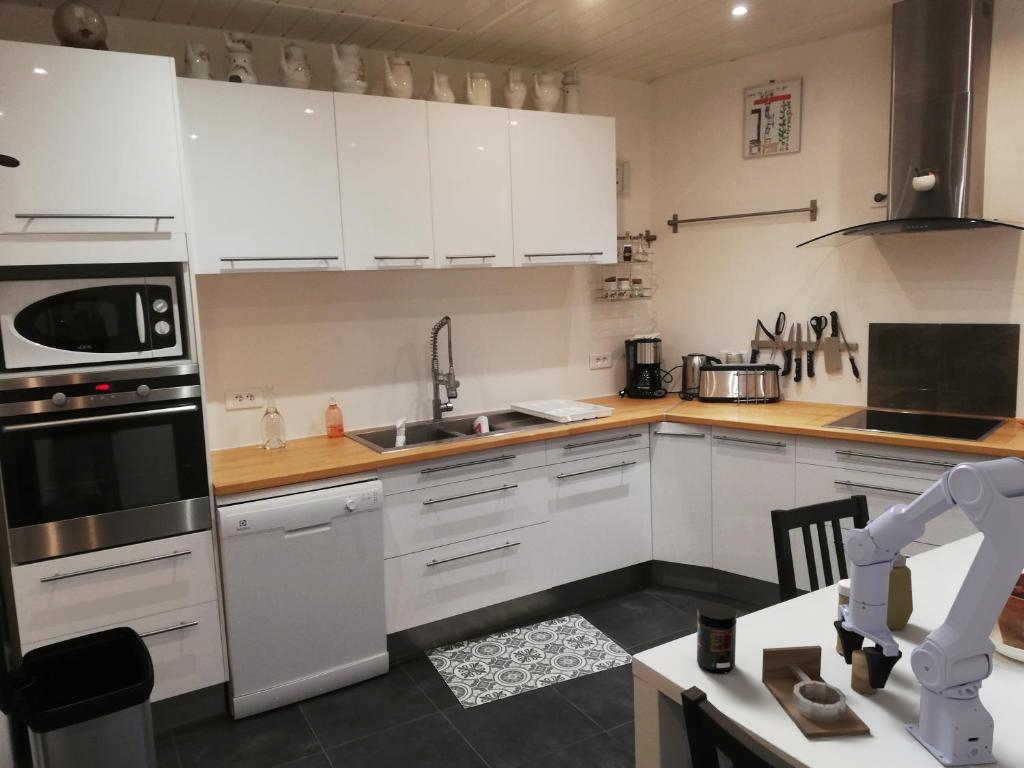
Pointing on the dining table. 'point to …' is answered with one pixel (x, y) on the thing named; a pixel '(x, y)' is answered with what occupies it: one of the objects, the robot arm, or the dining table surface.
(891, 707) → the dining table surface
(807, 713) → the cup bracket
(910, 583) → the squeeze bottle
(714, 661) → the supplement container
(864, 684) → the oak peg
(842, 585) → the sprinkles bottle
